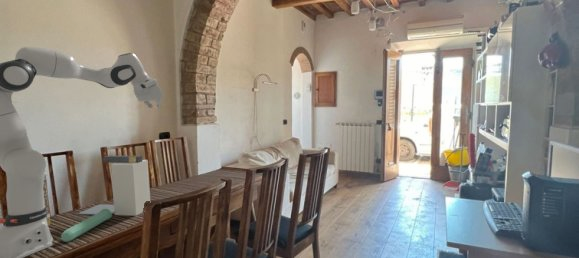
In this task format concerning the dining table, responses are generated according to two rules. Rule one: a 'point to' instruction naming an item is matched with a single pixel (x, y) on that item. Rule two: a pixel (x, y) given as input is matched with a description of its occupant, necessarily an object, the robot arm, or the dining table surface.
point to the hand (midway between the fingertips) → (155, 107)
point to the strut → (122, 159)
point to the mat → (97, 209)
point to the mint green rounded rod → (86, 225)
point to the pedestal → (130, 187)
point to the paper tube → (46, 199)
